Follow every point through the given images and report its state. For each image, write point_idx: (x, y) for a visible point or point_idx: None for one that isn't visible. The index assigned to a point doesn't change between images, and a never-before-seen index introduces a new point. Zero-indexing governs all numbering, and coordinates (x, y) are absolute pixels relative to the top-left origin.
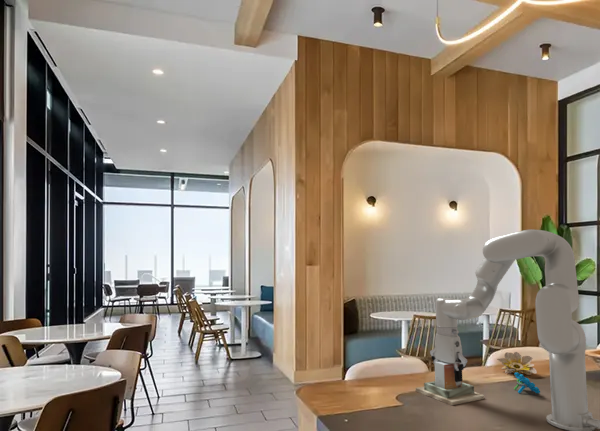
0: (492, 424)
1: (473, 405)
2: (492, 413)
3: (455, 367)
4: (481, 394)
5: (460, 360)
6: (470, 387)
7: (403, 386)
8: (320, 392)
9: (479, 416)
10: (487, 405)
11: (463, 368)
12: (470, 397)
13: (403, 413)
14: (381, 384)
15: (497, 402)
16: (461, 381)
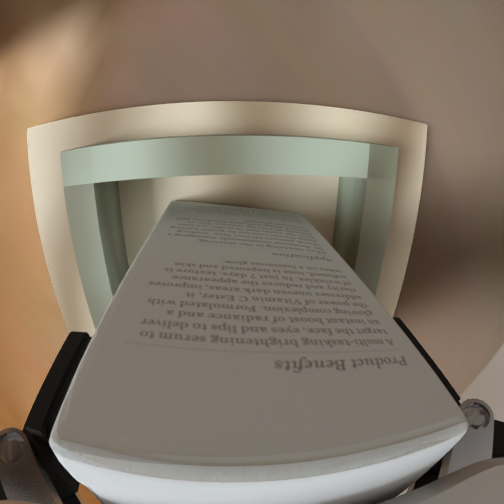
0: (500, 344)
1: (429, 284)
2: (496, 282)
3: (421, 483)
4: (412, 126)
5: (494, 490)
6: (390, 195)
7: (25, 370)
8: (89, 499)
9: (471, 342)
10: (467, 219)
11: (493, 422)
12: (403, 252)
13: None
14: (8, 405)
15: (474, 127)
16: (335, 253)
